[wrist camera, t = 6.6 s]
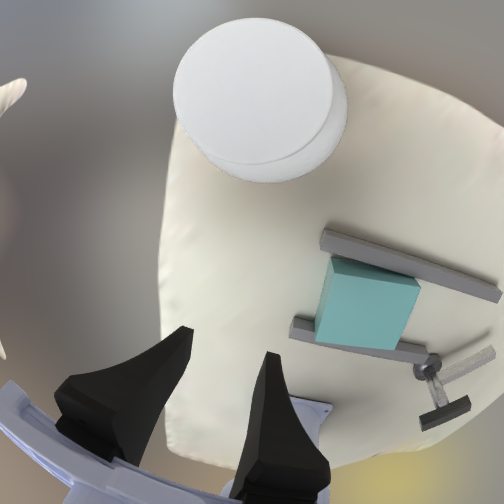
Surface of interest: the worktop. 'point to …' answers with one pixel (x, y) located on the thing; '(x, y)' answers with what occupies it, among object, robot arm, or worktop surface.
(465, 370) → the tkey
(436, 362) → the key socket
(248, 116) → the supplement bottle
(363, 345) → the cover
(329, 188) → the worktop surface
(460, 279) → the channel
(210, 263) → the worktop surface
